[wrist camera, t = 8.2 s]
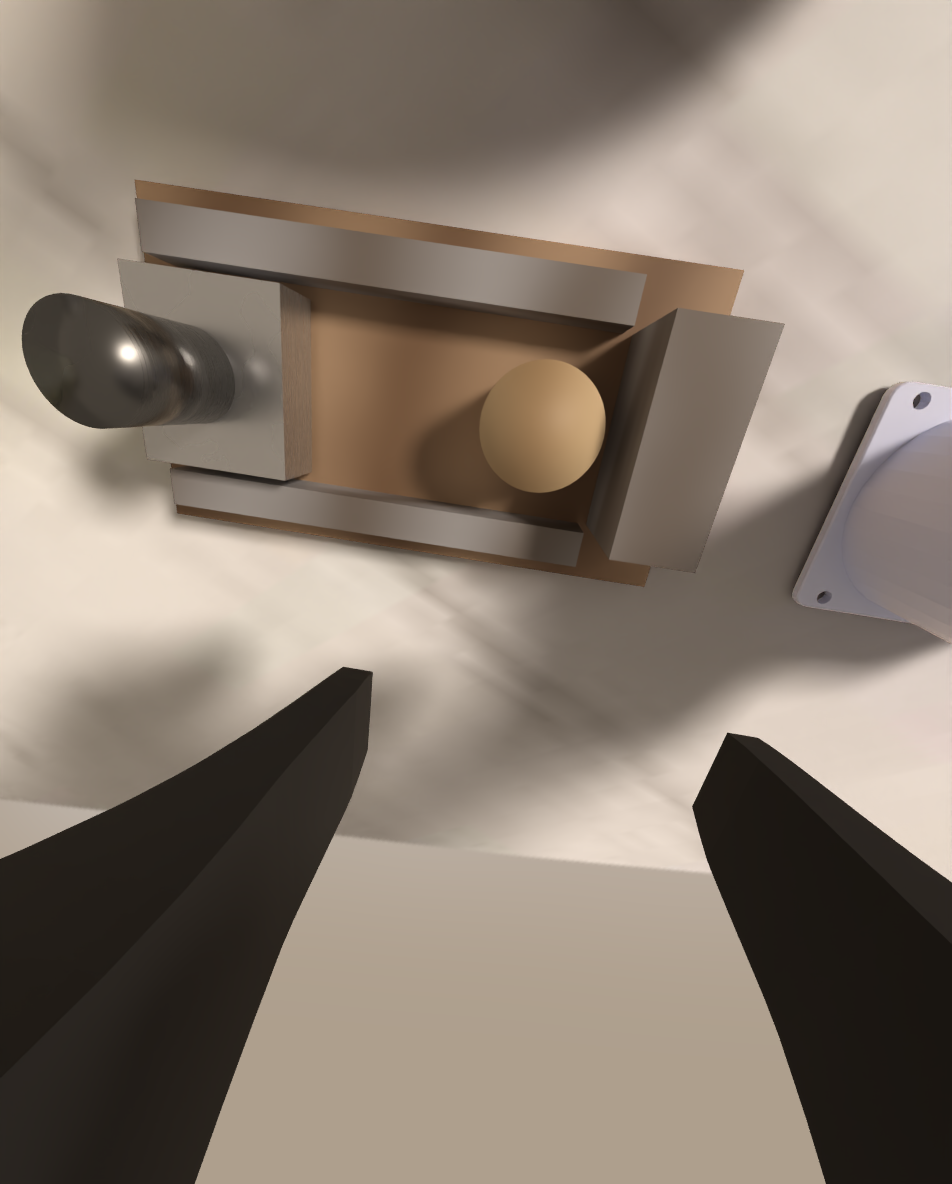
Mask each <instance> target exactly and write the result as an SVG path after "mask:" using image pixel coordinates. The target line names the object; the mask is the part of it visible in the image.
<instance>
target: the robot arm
mask: <svg viewBox="0 0 952 1184" xmlns="http://www.w3.org/2000/svg"><path fill="white" fill-rule="evenodd" d="M918 394H920V397H921V399H920V402H919V404H918V405H917V406H916V407H915V408H914V407H913V400H914V398H915V397H916V396H917V395H918ZM823 591H825V595H824V596H823V597H822V598H820V599H817V596H818V595H819V594H820V593H822V592H823ZM792 597H793V599H794V600H795V601H796V602H797V603H798V604H800V605H802V606H805V607H810V608H817V609H823V610H830V611H836V612H842V613H849V614H855V615H861V616H868V617H874V618H880V619H887V620H893V621H899V622H906V623H912V624H915V625H917V626H919V627H920V628H922V629H924V630H926V631H928V632H930V633H932V634H934V635H935V636H937V637H939V638H941V639H943V640H945V641H947V642H948V643H950V644H952V387H946V386H940V385H933V384H927V383H920V382H899V383H897V384H894V385H892V386H891V387H890V388H889V389H887V390H886V392H885V393H884V395H883V396H882V399H881V401H880V403H879V405H878V407H877V409H876V412H875V414H874V416H873V418H872V420H871V422H870V424H869V427H868V429H867V431H866V433H865V435H864V437H863V440H862V442H861V444H860V446H859V448H858V450H857V453H856V455H855V457H854V459H853V461H852V463H851V466H850V468H849V470H848V472H847V474H846V476H845V479H844V481H843V483H842V485H841V487H840V489H839V492H838V494H837V496H836V498H835V500H834V502H833V505H832V507H831V509H830V511H829V513H828V515H827V518H826V520H825V522H824V524H823V526H822V528H821V531H820V533H819V535H818V537H817V539H816V541H815V544H814V546H813V548H812V550H811V552H810V554H809V557H808V559H807V561H806V563H805V565H804V567H803V570H802V572H801V574H800V576H799V578H798V580H797V583H796V585H795V587H794V589H793V592H792ZM372 676H373V672H371V671H365V670H359V669H353V668H347V667H342V668H341V669H339V670H338V671H336V672H335V673H333V674H332V675H330V676H329V677H328V678H326V679H325V680H323V681H322V682H321V683H319V684H318V685H316V686H315V687H314V688H312V689H311V690H309V691H308V692H307V693H305V694H304V695H302V696H301V697H300V698H298V699H297V700H295V701H294V702H293V703H291V704H290V705H288V706H287V707H285V708H284V709H282V710H281V711H279V712H278V713H276V714H275V715H273V716H272V717H271V718H269V719H268V720H266V721H265V722H263V723H262V724H260V725H259V726H257V727H256V728H254V729H253V730H251V731H250V732H248V733H246V734H245V735H243V736H242V737H240V738H238V739H237V740H235V741H233V742H232V743H230V744H229V745H227V746H225V747H224V748H222V749H221V750H219V751H217V752H216V753H214V754H212V755H211V756H209V757H208V758H206V759H204V760H202V761H201V762H199V763H197V764H196V765H194V766H192V767H190V768H188V769H187V770H185V771H183V772H181V773H179V774H178V775H176V776H174V777H172V778H170V779H168V780H166V781H165V782H163V783H161V784H159V785H157V786H155V787H153V788H151V789H149V790H147V791H145V792H143V793H142V794H140V795H138V796H136V797H134V798H132V799H130V800H128V801H126V802H124V803H122V804H120V805H118V806H116V807H114V808H112V809H109V810H107V811H105V812H103V813H101V814H99V815H96V816H94V817H92V818H90V819H88V820H86V821H83V822H81V823H79V824H77V825H75V826H73V827H70V828H68V829H66V830H64V831H62V832H60V833H57V834H55V835H53V836H51V837H49V838H47V839H44V840H42V841H40V842H38V843H36V844H34V845H32V846H29V847H27V848H25V849H23V850H20V851H18V852H16V853H14V854H11V855H9V856H6V857H4V858H2V859H0V1184H195V1181H196V1178H197V1176H198V1173H199V1170H200V1167H201V1164H202V1162H203V1159H204V1156H205V1153H206V1150H207V1147H208V1145H209V1142H210V1139H211V1136H212V1133H213V1131H214V1128H215V1125H216V1122H217V1119H218V1116H219V1114H220V1111H221V1108H222V1105H223V1102H224V1100H225V1097H226V1094H227V1092H228V1089H229V1086H230V1084H231V1081H232V1078H233V1075H234V1073H235V1070H236V1067H237V1065H238V1062H239V1059H240V1057H241V1054H242V1051H243V1048H244V1046H245V1043H246V1040H247V1038H248V1035H249V1032H250V1029H251V1027H252V1024H253V1021H254V1019H255V1016H256V1013H257V1010H258V1008H259V1005H260V1003H261V1000H262V998H263V995H264V992H265V990H266V987H267V984H268V982H269V979H270V976H271V974H272V971H273V969H274V966H275V963H276V960H277V958H278V955H279V953H280V950H281V948H282V945H283V943H284V941H285V938H286V936H287V934H288V931H289V929H290V927H291V925H292V922H293V920H294V918H295V915H296V913H297V911H298V909H299V907H300V905H301V903H302V901H303V898H304V897H305V894H306V892H307V890H308V888H309V886H310V884H311V882H312V880H313V878H314V875H315V873H316V871H317V869H318V867H319V865H320V863H321V861H322V859H323V857H324V854H325V852H326V850H327V848H328V846H329V844H330V842H331V840H332V838H333V836H334V833H335V831H336V829H337V827H338V825H339V823H340V821H341V819H342V816H343V814H344V812H345V810H346V808H347V806H348V803H349V801H350V799H351V797H352V794H353V791H354V788H355V785H356V783H357V780H358V777H359V774H360V771H361V768H362V765H363V762H364V759H365V756H366V753H367V750H368V736H369V721H370V706H371V691H372ZM692 807H693V811H694V815H695V819H696V823H697V827H698V831H699V835H700V838H701V841H702V845H703V848H704V851H705V855H706V858H707V861H708V864H709V866H710V869H711V871H712V874H713V876H714V879H715V881H716V884H717V886H718V889H719V891H720V893H721V896H722V898H723V900H724V903H725V905H726V908H727V910H728V913H729V915H730V918H731V920H732V922H733V925H734V927H735V929H736V932H737V934H738V937H739V939H740V941H741V943H742V946H743V948H744V951H745V953H746V956H747V958H748V960H749V963H750V965H751V968H752V970H753V972H754V974H755V977H756V979H757V982H758V984H759V987H760V989H761V991H762V994H763V996H764V999H765V1001H766V1004H767V1006H768V1009H769V1011H770V1014H771V1017H772V1019H773V1022H774V1024H775V1027H776V1030H777V1032H778V1035H779V1038H780V1041H781V1044H782V1047H783V1050H784V1053H785V1056H786V1059H787V1062H788V1065H789V1068H790V1071H791V1074H792V1077H793V1080H794V1083H795V1086H796V1089H797V1092H798V1095H799V1098H800V1101H801V1104H802V1107H803V1110H804V1114H805V1116H806V1120H807V1123H808V1126H809V1129H810V1133H811V1136H812V1139H813V1142H814V1146H815V1149H816V1152H817V1156H818V1159H819V1162H820V1166H821V1169H822V1172H823V1175H824V1179H825V1182H826V1184H952V882H950V881H949V880H948V879H946V878H945V877H943V876H942V875H941V874H939V873H938V872H937V871H935V870H934V869H932V868H931V867H930V866H928V865H927V864H925V863H924V862H923V861H921V860H920V859H919V858H917V857H916V856H915V855H913V854H912V853H911V852H909V851H908V850H907V849H905V848H904V847H903V846H901V845H900V844H899V843H897V842H896V841H895V840H893V839H892V838H891V837H889V836H888V835H887V834H885V833H884V832H883V831H881V830H880V829H879V828H877V827H876V826H875V825H874V824H872V823H871V822H870V821H868V820H867V819H866V818H864V817H863V816H862V815H861V814H859V813H858V812H857V811H855V810H854V809H853V808H851V807H850V806H849V805H848V804H846V803H845V802H844V801H842V800H841V799H840V798H839V797H837V796H836V795H835V794H833V793H832V792H831V791H830V790H828V789H827V788H826V787H824V786H823V785H822V784H820V783H819V782H818V781H817V780H815V779H814V778H813V777H811V776H810V775H809V774H808V773H806V772H805V771H804V770H802V769H801V768H800V767H798V766H797V765H796V764H794V763H793V762H792V761H790V760H789V759H788V758H786V757H785V756H784V755H782V754H781V753H779V752H778V751H777V750H775V749H774V748H772V747H771V746H770V745H768V744H766V743H765V742H763V741H762V740H760V739H759V738H755V737H750V736H744V735H738V734H732V733H727V735H726V737H725V739H724V741H723V743H722V745H721V747H720V749H719V752H718V754H717V756H716V758H715V760H714V762H713V764H712V766H711V768H710V770H709V773H708V775H707V777H706V779H705V781H704V783H703V785H702V787H701V789H700V791H699V794H698V796H697V798H696V800H695V802H694V804H693V806H692Z"/></svg>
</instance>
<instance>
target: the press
mask: <svg viewBox="0 0 952 1184" xmlns="http://www.w3.org/2000/svg"><path fill="white" fill-rule="evenodd" d="M135 187H136V195H137V198H135V202H136V210H137V218H138V225H139V233H140V241H141V249H142V252H144V257H145V263H150V264H157V265H163V266H170V267H177V268H183V269H190V270H197V271H203V272H210V273H216V274H223V275H230V276H236V277H243V278H250V279H256V280H263V281H269V282H276V283H280V284H282V285H284V286H286V287H288V288H290V289H291V290H293V291H295V292H297V293H299V294H301V295H302V296H304V297H306V298H308V299H310V300H311V397H312V472H311V473H308V474H305V475H301V476H298V477H295V478H292V479H289V480H286V481H284V480H278V479H272V478H265V477H259V476H252V475H246V474H240V473H233V472H227V471H220V470H214V469H207V468H201V467H195V466H188V465H182V464H175V463H171V467H172V468H171V469H170V472H171V480H172V488H173V495H174V503H175V504H176V506H177V513H179V514H185V515H191V516H198V517H204V518H210V519H217V520H223V521H229V522H236V523H242V524H248V525H255V526H261V527H268V528H274V529H280V530H287V531H293V532H299V533H306V534H312V535H318V536H325V537H331V538H337V539H344V540H350V541H356V542H363V543H369V544H376V545H382V546H388V547H395V548H401V549H407V550H414V551H420V552H426V553H433V554H439V555H445V556H452V557H458V558H464V559H471V560H477V561H483V562H490V563H496V564H503V565H509V566H515V567H522V568H528V569H534V570H541V571H547V572H553V573H560V574H566V575H572V576H579V577H585V578H591V579H598V580H604V581H610V582H617V583H623V584H630V585H636V586H642V587H644V586H645V583H646V580H647V576H648V573H649V570H650V567H651V566H654V567H660V568H666V569H673V570H679V571H686V572H692V573H695V572H696V569H697V566H698V563H699V560H700V558H701V555H702V552H703V549H704V547H705V544H706V541H707V538H708V536H709V533H710V530H711V527H712V524H713V522H714V519H715V516H716V513H717V511H718V508H719V505H720V502H721V499H722V497H723V494H724V491H725V488H726V486H727V483H728V480H729V477H730V474H731V472H732V469H733V466H734V463H735V461H736V458H737V455H738V452H739V450H740V447H741V444H742V441H743V438H744V436H745V433H746V430H747V427H748V425H749V422H750V419H751V416H752V413H753V411H754V408H755V405H756V402H757V400H758V397H759V394H760V391H761V388H762V386H763V383H764V380H765V377H766V375H767V372H768V369H769V366H770V364H771V361H772V358H773V355H774V352H775V350H776V347H777V344H778V341H779V339H780V336H781V333H782V330H783V327H784V325H785V324H783V323H776V322H770V321H763V320H756V319H750V318H743V317H736V316H730V314H731V311H732V307H733V304H734V301H735V298H736V295H737V292H738V288H739V285H740V282H741V279H742V276H743V273H744V270H738V269H732V268H725V267H718V266H711V265H705V264H698V263H691V262H685V261H678V260H671V259H664V258H658V257H651V256H644V255H638V254H631V253H624V252H617V251H611V250H604V249H597V248H590V247H584V246H577V245H570V244H564V243H557V242H550V241H543V240H537V239H530V238H523V237H517V236H510V235H503V234H496V233H490V232H483V231H476V230H470V229H463V228H456V227H449V226H443V225H436V224H429V223H423V222H416V221H409V220H402V219H396V218H389V217H382V216H376V215H369V214H362V213H355V212H349V211H342V210H335V209H329V208H322V207H315V206H308V205H302V204H295V203H288V202H281V201H275V200H268V199H261V198H255V197H248V196H241V195H234V194H228V193H221V192H214V191H208V190H201V189H194V188H187V187H181V186H174V185H167V184H161V183H154V182H147V181H140V180H135ZM542 359H550V360H558V361H562V362H565V363H568V364H570V365H572V366H574V367H576V368H578V369H579V370H580V371H582V372H583V373H584V374H585V375H586V376H587V377H588V378H589V379H590V380H591V381H592V383H593V384H594V385H595V387H596V388H597V390H598V392H599V394H600V396H601V399H602V402H603V405H604V410H605V419H606V425H605V434H604V440H603V443H602V446H601V449H600V451H599V453H598V456H597V457H596V459H595V461H594V462H593V464H592V465H591V466H590V468H589V469H588V470H587V471H586V472H585V473H584V474H583V475H582V476H581V477H580V478H579V479H577V480H576V481H575V482H573V483H571V484H570V485H568V486H566V487H564V488H561V489H558V490H555V491H551V492H543V493H535V492H528V491H523V490H520V489H517V488H515V487H513V486H511V485H509V484H508V483H506V482H505V481H503V480H502V479H501V478H500V477H499V476H498V475H497V474H496V473H495V472H494V471H493V470H492V468H491V467H490V465H489V464H488V462H487V460H486V458H485V456H484V453H483V450H482V447H481V442H480V433H479V427H480V417H481V412H482V409H483V406H484V403H485V401H486V399H487V396H488V395H489V393H490V391H491V390H492V388H493V387H494V386H495V384H496V383H497V382H498V381H499V380H500V379H501V378H502V377H503V376H504V375H505V374H506V373H508V372H509V371H510V370H512V369H513V368H515V367H517V366H519V365H521V364H524V363H526V362H530V361H534V360H542Z"/></svg>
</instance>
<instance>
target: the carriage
mask: <svg viewBox="0 0 952 1184" xmlns="http://www.w3.org/2000/svg"><path fill="white" fill-rule="evenodd" d="M117 260H118V266H119V273H120V280H121V287H122V293H123V300H124V307H125V308H123V307H119V306H115V305H111V304H108V303H104V302H100V301H96V300H92V299H88V298H85V297H81V296H77V295H72V294H65V293H58V294H52V295H48V296H45V297H43V298H41V299H40V300H39V301H37V302H36V303H35V304H34V305H33V306H32V307H31V308H30V310H29V312H28V313H27V315H26V318H25V321H24V324H23V329H22V348H23V353H24V358H25V361H26V364H27V367H28V369H29V372H30V374H31V376H32V378H33V380H34V382H35V383H36V385H37V387H38V388H39V390H40V391H41V392H42V394H43V395H44V396H45V398H46V399H47V400H48V401H49V402H50V403H51V404H52V405H53V406H54V407H55V408H56V409H57V410H58V411H60V412H61V413H62V414H64V415H65V416H67V417H68V418H70V419H71V420H73V421H75V422H77V423H79V424H82V425H85V426H88V427H92V428H100V429H105V428H126V427H142V428H143V435H144V442H145V448H146V455H147V459H150V460H156V461H163V462H169V463H175V464H182V465H188V466H195V467H201V468H207V469H214V470H220V471H227V472H233V473H240V474H246V475H252V476H259V477H265V478H272V479H278V480H284V481H286V480H289V479H292V478H295V477H298V476H301V475H305V474H308V473H311V472H312V397H311V300H310V299H308V298H306V297H304V296H302V295H301V294H299V293H297V292H295V291H293V290H291V289H290V288H288V287H286V286H284V285H282V284H280V283H276V282H269V281H263V280H256V279H250V278H243V277H236V276H230V275H223V274H216V273H210V272H203V271H197V270H190V269H183V268H177V267H170V266H163V265H157V264H150V263H144V262H137V261H130V260H124V259H117Z"/></svg>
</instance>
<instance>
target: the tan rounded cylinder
mask: <svg viewBox="0 0 952 1184" xmlns="http://www.w3.org/2000/svg"><path fill="white" fill-rule="evenodd" d="M605 425H606V419H605V410H604V405H603V402H602V399H601V396H600V394H599V392H598V390H597V388H596V387H595V385H594V384H593V383H592V381H591V380H590V379H589V378H588V377H587V376H586V375H585V374H584V373H583V372H582V371H580V370H579V369H578V368H576V367H574V366H572V365H570V364H568V363H565V362H562V361H558V360H550V359H542V360H534V361H530V362H526V363H524V364H521V365H519V366H517V367H515V368H513V369H512V370H510V371H509V372H508V373H506V374H505V375H504V376H503V377H502V378H501V379H500V380H499V381H498V382H497V383H496V384H495V386H494V387H493V388H492V390H491V391H490V393H489V395H488V396H487V399H486V401H485V403H484V406H483V409H482V412H481V417H480V427H479V433H480V442H481V447H482V450H483V453H484V456H485V458H486V460H487V462H488V464H489V465H490V467H491V468H492V470H493V471H494V472H495V473H496V474H497V475H498V476H499V477H500V478H501V479H502V480H503V481H505V482H506V483H508V484H509V485H511V486H513V487H515V488H517V489H520V490H523V491H528V492H535V493H543V492H551V491H555V490H558V489H561V488H564V487H566V486H568V485H570V484H571V483H573V482H575V481H576V480H577V479H579V478H580V477H581V476H582V475H583V474H584V473H585V472H586V471H587V470H588V469H589V468H590V466H591V465H592V464H593V462H594V461H595V459H596V457H597V456H598V453H599V451H600V449H601V446H602V443H603V440H604V434H605Z"/></svg>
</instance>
